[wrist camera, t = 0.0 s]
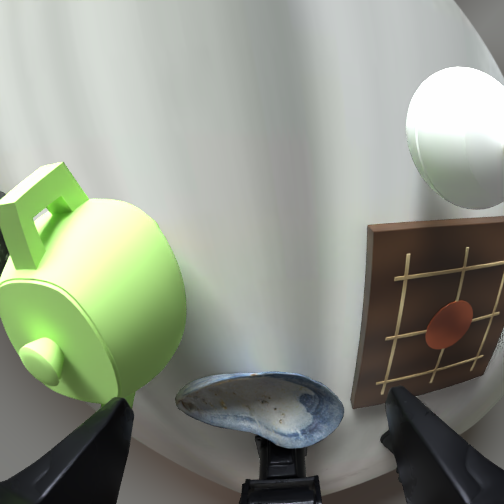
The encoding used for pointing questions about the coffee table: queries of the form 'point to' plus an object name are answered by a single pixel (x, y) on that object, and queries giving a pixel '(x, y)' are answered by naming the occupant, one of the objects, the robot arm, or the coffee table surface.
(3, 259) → the rock
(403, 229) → the board
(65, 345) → the teapot
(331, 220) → the coffee table surface
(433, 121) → the spinning top
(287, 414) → the seashell
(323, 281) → the coffee table surface
